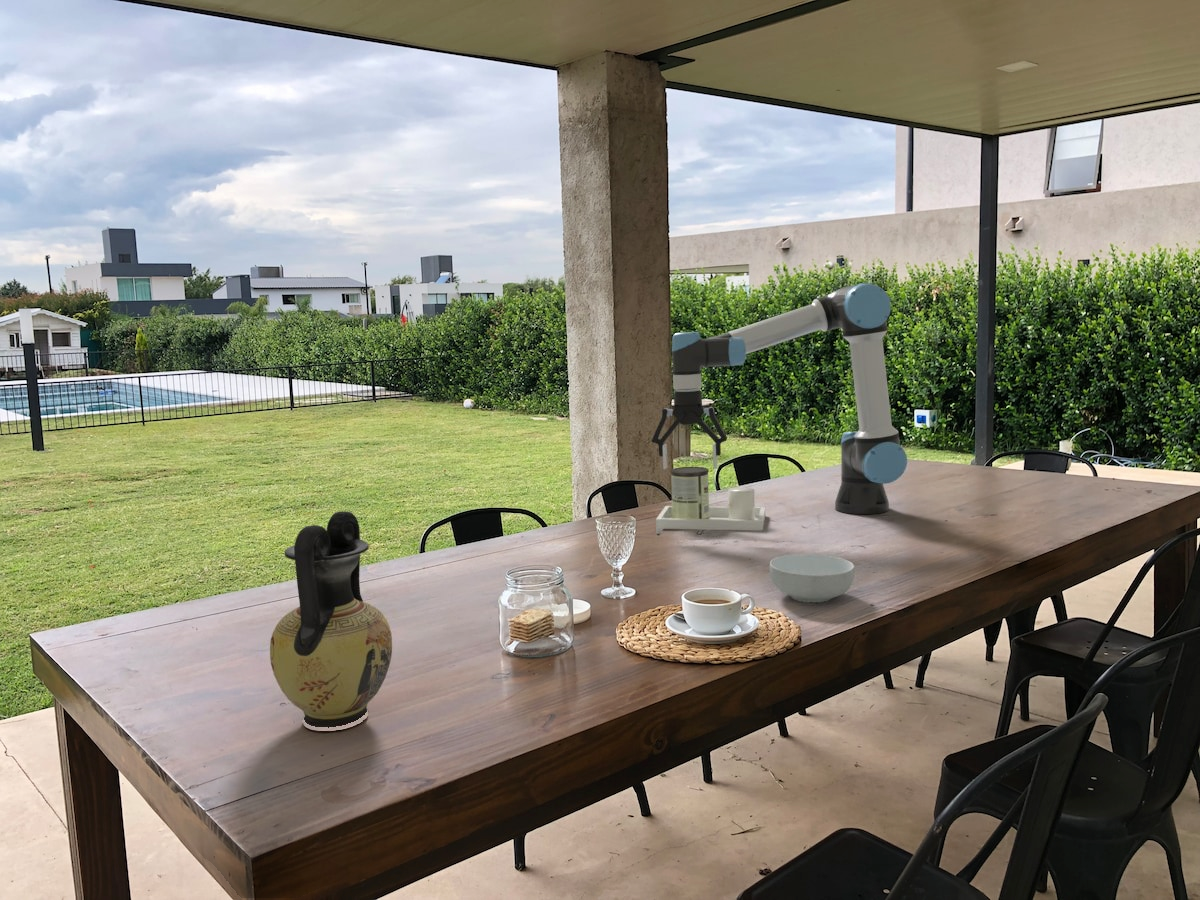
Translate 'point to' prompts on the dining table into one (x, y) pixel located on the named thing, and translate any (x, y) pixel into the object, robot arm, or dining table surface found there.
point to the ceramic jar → (741, 504)
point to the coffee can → (690, 493)
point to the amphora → (330, 629)
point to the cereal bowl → (811, 576)
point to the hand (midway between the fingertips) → (690, 468)
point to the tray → (710, 521)
